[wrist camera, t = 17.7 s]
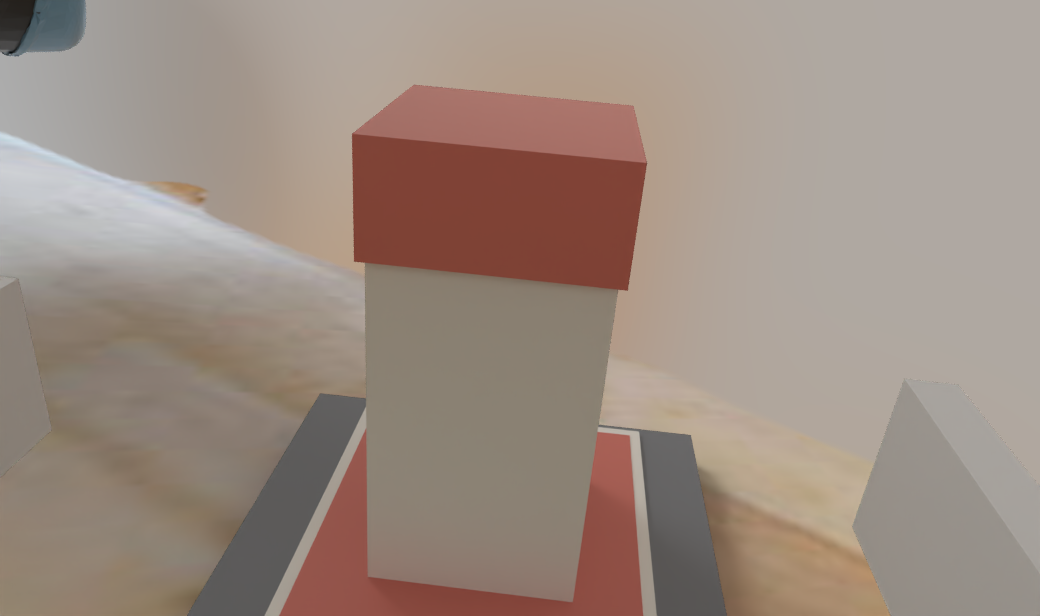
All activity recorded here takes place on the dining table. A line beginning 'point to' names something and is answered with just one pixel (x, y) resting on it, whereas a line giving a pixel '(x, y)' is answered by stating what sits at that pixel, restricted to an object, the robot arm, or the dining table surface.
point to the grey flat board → (455, 611)
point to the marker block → (489, 328)
